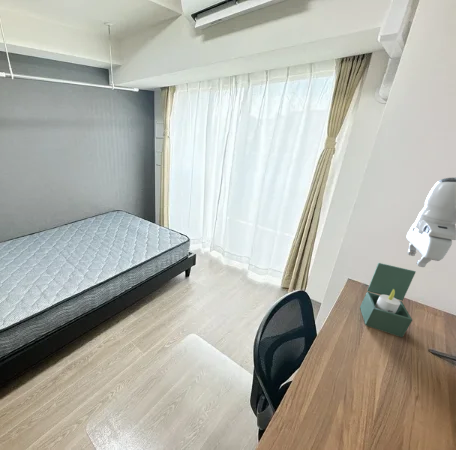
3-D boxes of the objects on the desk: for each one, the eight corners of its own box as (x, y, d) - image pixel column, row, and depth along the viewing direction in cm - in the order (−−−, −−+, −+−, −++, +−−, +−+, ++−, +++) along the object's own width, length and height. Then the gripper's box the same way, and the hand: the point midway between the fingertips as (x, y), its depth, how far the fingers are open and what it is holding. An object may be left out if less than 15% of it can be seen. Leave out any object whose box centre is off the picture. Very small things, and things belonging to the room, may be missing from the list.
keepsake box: (402, 337, 94) (412, 320, 91) (365, 325, 100) (373, 308, 96) (393, 317, 105) (401, 301, 101) (359, 307, 110) (367, 291, 106)
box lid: (415, 271, 97) (411, 267, 101) (378, 263, 102) (375, 259, 106) (402, 300, 101) (398, 295, 105) (367, 291, 106) (365, 286, 110)
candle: (374, 322, 100) (388, 293, 94) (367, 312, 106) (381, 283, 100) (393, 327, 98) (409, 297, 92) (385, 316, 104) (400, 287, 98)
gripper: (410, 214, 93) (395, 247, 98) (433, 232, 76) (413, 270, 81) (432, 218, 90) (416, 251, 95) (461, 237, 73) (439, 276, 78)
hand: (415, 260), depth 88 cm, fingers open, 8 cm apart
